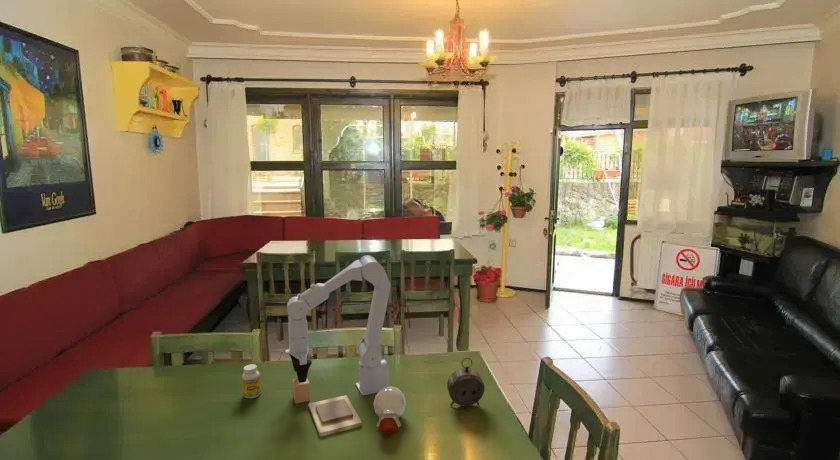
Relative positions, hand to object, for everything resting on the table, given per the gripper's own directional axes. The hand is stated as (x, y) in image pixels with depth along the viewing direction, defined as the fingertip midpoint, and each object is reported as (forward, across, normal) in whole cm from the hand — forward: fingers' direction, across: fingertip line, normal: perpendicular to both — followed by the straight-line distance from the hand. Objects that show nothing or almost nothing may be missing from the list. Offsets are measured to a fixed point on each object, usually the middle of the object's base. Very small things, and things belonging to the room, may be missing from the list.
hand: (300, 376), depth 146 cm
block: (+8, 0, 0) cm, 8 cm away
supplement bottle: (+8, -9, -14) cm, 18 cm away
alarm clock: (+8, +26, +45) cm, 53 cm away
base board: (+8, +14, +7) cm, 17 cm away
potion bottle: (+8, +24, +21) cm, 33 cm away
